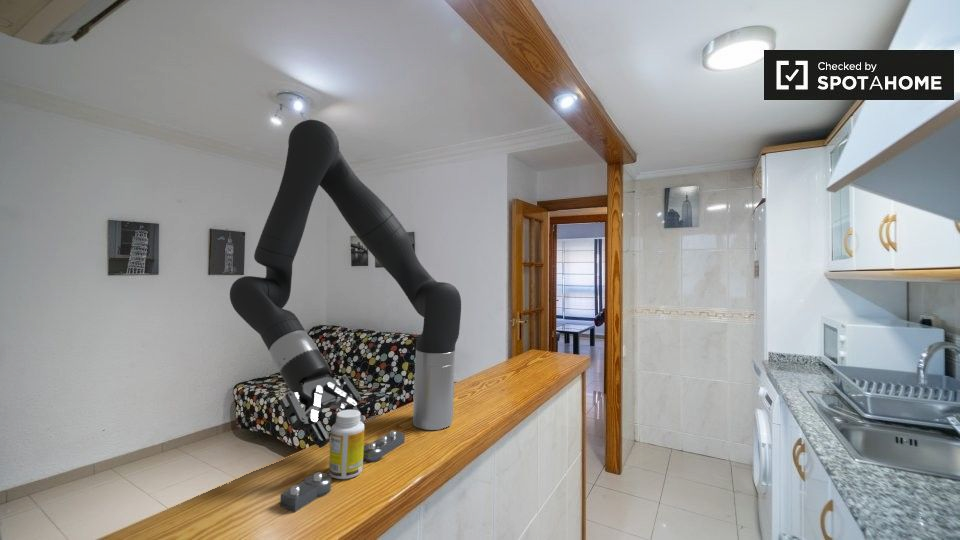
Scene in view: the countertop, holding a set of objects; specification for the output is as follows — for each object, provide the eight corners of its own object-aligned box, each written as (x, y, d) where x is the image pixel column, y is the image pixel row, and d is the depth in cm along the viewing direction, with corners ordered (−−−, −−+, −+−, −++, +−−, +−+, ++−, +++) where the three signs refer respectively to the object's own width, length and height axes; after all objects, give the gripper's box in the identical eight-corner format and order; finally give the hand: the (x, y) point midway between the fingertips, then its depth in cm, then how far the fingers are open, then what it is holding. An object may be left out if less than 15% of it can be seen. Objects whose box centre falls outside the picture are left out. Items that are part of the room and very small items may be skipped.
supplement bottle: (365, 464, 70) (368, 407, 70) (358, 480, 65) (361, 419, 65) (333, 464, 70) (336, 407, 70) (324, 481, 64) (327, 418, 64)
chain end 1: (317, 481, 64) (318, 465, 64) (336, 488, 62) (337, 471, 62) (277, 505, 57) (278, 487, 57) (297, 513, 55) (298, 494, 55)
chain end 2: (390, 438, 82) (391, 426, 82) (406, 442, 80) (407, 430, 80) (355, 459, 72) (356, 445, 72) (373, 464, 70) (373, 449, 70)
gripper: (277, 354, 65) (325, 437, 60) (339, 343, 78) (383, 410, 73) (253, 381, 67) (298, 464, 62) (318, 366, 80) (359, 433, 75)
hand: (344, 435), depth 68 cm, fingers open, 8 cm apart
